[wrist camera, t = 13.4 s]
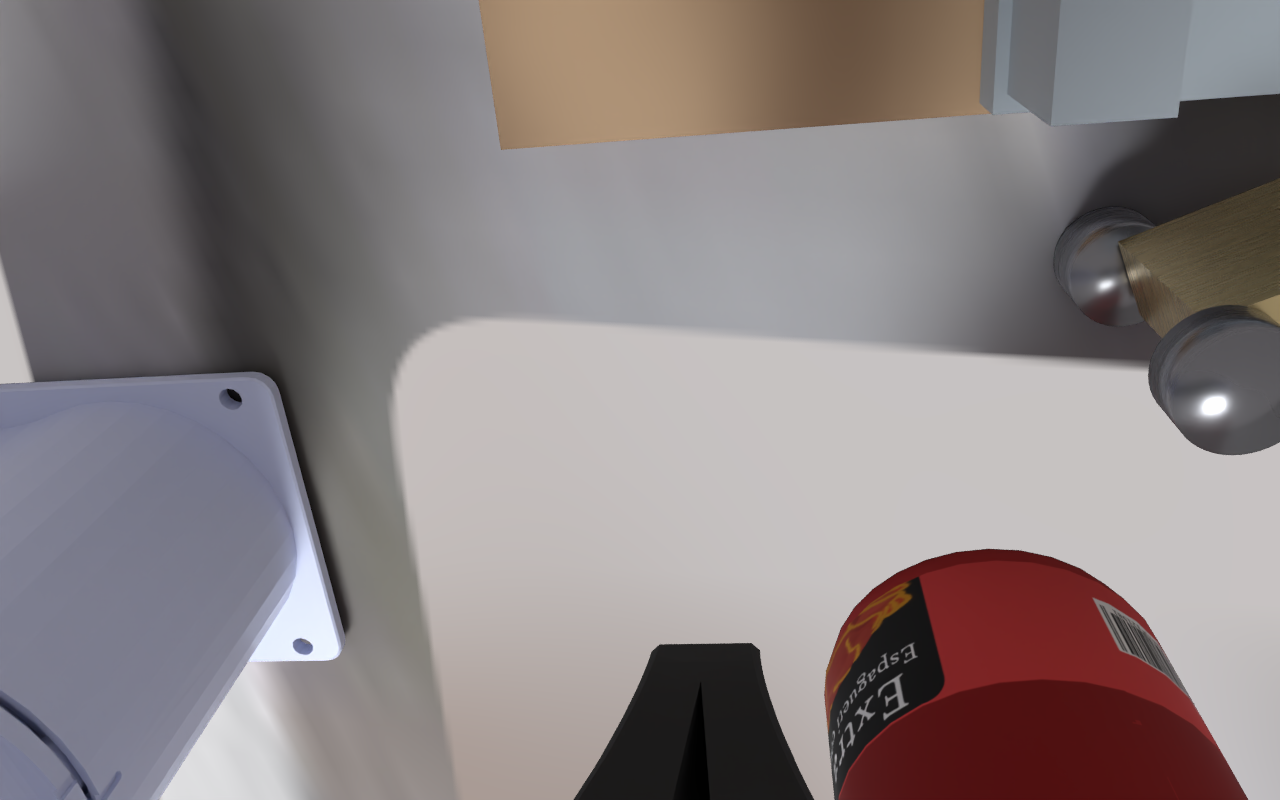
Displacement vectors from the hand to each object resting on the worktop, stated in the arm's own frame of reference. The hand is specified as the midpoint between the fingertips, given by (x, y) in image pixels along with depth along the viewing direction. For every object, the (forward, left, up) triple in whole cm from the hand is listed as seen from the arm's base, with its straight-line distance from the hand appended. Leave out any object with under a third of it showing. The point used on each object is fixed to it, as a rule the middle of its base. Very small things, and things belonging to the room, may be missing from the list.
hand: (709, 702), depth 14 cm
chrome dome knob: (+8, +2, -10) cm, 13 cm away
